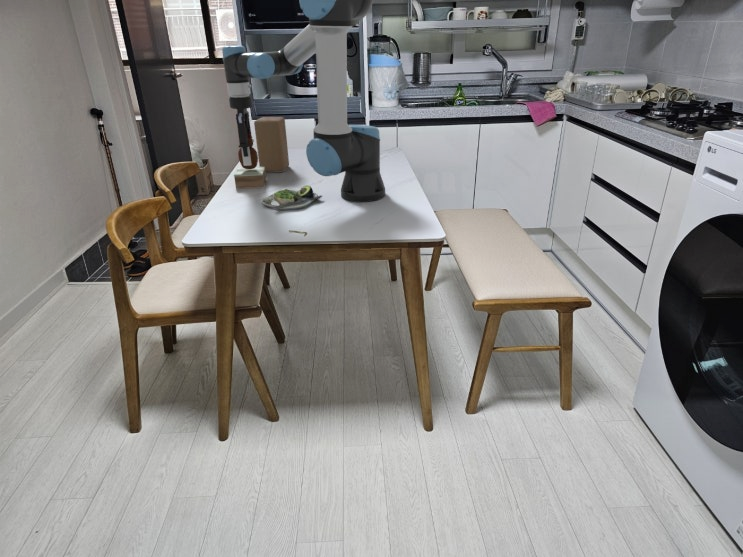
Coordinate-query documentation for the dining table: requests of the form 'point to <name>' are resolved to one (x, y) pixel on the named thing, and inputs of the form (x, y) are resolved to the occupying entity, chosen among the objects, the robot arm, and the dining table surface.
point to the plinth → (250, 177)
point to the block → (272, 143)
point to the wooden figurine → (252, 153)
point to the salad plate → (291, 198)
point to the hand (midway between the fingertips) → (248, 162)
